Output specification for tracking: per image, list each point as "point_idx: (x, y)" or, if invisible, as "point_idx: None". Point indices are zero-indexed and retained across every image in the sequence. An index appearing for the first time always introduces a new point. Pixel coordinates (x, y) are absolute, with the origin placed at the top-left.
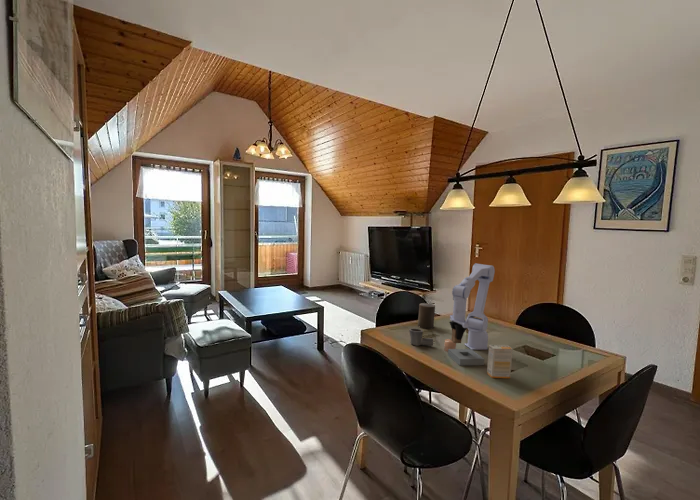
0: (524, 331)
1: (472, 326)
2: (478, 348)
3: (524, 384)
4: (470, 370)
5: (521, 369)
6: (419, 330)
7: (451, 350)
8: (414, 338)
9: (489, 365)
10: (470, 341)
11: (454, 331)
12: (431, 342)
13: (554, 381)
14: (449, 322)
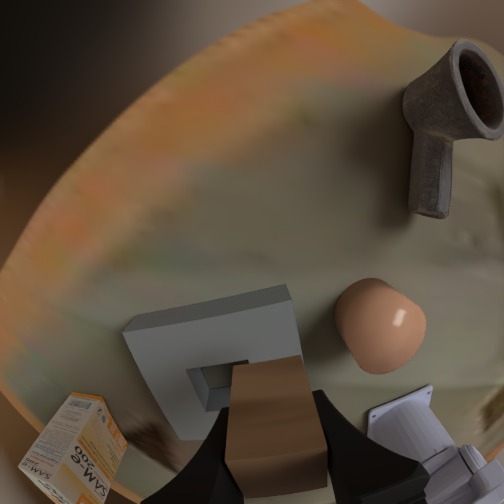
0: None
1: (436, 481)
2: (371, 432)
3: None
4: (100, 346)
5: None
6: (495, 121)
7: (267, 317)
8: (423, 77)
9: (72, 418)
10: (402, 424)
11: (250, 447)
12: (416, 199)
13: (143, 498)
14: (415, 467)
